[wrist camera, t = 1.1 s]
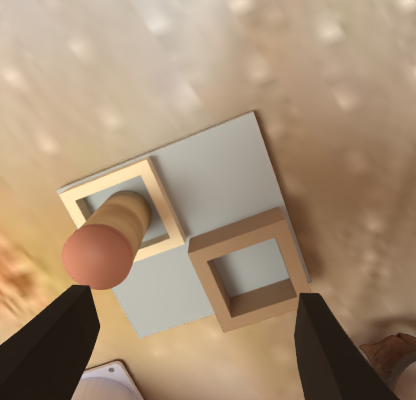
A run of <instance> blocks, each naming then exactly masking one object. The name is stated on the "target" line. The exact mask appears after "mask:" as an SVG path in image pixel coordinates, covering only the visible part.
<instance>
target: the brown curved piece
mask: <svg viewBox="0 0 416 400" xmlns="http://www.w3.org/2000/svg"><path fill="white" fill-rule="evenodd" d="M359 347H360V349H362V350H363V351H364V352H365V354H366V355H367V357H368V359H369V361H370V362H371V364H372V366H373V367H374V369H375V372H376V373H377V374H378V375H379V376H380V378H381V379H382V380H383V381H384V382H385V384H386V385H387V386H388V387H389V388H390V389H391V391H392V392H394V388H395V384H396V382H397V379H398V378H399V376H400V375H401V373H402V372H403V371H404V369H405V368H406V367H407V366H409V365H410V364H412V363H413V362H415V361H416V337H414V336H411V335H408V334H403V333H398V334H397V335H396V336H395V335H391V336H389V337H387V338H385V339H384V340H382V341H381V342H379V343H377V344H372V345H371V344H365V345H360V346H359Z"/></svg>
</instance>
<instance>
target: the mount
mask: <svg viewBox="0 0 416 400" xmlns="http://www.w3.org/2000/svg"><path fill="white" fill-rule="evenodd" d="M124 190H128V191H133V192H136V193H138V194H140V195H141V196H143V197H144V198H145V199H146V200H147V202H148V203H149V205H150V207H151V210H152V220H151V223H150V225H149V227H148V230H147V232H146V234H145V236H144V239H143V241H142V243H141V245H140V247H139V250H138V252H137V254H136V256H135V259H134V261H133V265H132V268H131V270H130V272H129V274H128V276H127V277H126V279H125V280H124V281H123V282H122V283H120V284H119V285H117V286H115V287H113V288H111V289H112V291H113V293H114V294H115V296H116V298H117V300H118V302H119V303H120V305H121V307H122V309H123V310H124V312H125V314H126V316H127V318H128V319H129V321H130V323H131V325H132V327H133V328H134V330H135V332H136V334H137V335H138V337H139V339H140V338H143V337H146V336H149V335H152V334H155V333H158V332H161V331H164V330H167V329H170V328H173V327H176V326H179V325H182V324H185V323H189V322H192V321H195V320H198V319H201V318H204V317H207V316H210V315H213V314H215V315H216V317H217V319H218V321H219V323H220V326H221V328H222V330H223V332H227V331H230V330H234V329H237V328H240V327H243V326H246V325H249V324H252V323H256V322H259V321H262V320H265V319H268V318H271V317H274V316H278V315H281V314H284V313H287V312H290V311H293V310H296V309H298V302H299V294H300V293H311V291H310V288H309V285H308V283H311V279H310V277H309V274H308V271H307V268H306V265H305V262H304V259H303V256H302V253H301V250H300V247H299V244H298V241H297V238H296V235H295V232H294V229H293V226H292V224H291V221H290V218H289V215H288V212H287V209H286V206H285V203H284V200H283V197H282V194H281V191H280V188H279V185H278V182H277V179H276V176H275V173H274V170H273V168H272V165H271V162H270V159H269V156H268V153H267V150H266V147H265V144H264V141H263V138H262V135H261V132H260V129H259V126H258V123H257V120H256V117H255V115H254V112H253V111H250V112H247V113H245V114H242V115H240V116H237V117H235V118H232V119H230V120H227V121H225V122H222V123H220V124H217V125H215V126H212V127H210V128H207V129H205V130H202V131H200V132H197V133H195V134H192V135H190V136H187V137H185V138H182V139H180V140H177V141H175V142H172V143H170V144H167V145H165V146H162V147H160V148H157V149H155V150H152V151H150V152H147V153H145V154H142V155H140V156H137V157H135V158H132V159H130V160H127V161H125V162H122V163H120V164H117V165H115V166H112V167H110V168H107V169H105V170H102V171H100V172H97V173H95V174H92V175H90V176H87V177H85V178H82V179H80V180H77V181H75V182H72V183H70V184H67V185H65V186H62V187H61V188H59V189H58V190H56V191H57V192H58V194H59V196H60V198H61V200H62V201H63V203H64V205H65V207H66V209H67V210H68V212H69V214H70V216H71V218H72V219H73V221H74V223H75V225H76V226H77V228H78V229H79V228H80V227H81V226H82V225H83V224H84V223H85V222H86V221H87V220H88V219H89V218H90V217H91V216H92V214H93V213H94V212H95V211H96V210H97V209H98V208H99V207H100V206H101V205H102V204H103V203H104V202H105V201H106V200H107V199H108V198H109V197H110V196H111V195H112V194H114V193H116V192H118V191H124Z"/></svg>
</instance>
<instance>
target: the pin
mask: <svg viewBox="0 0 416 400" xmlns="http://www.w3.org/2000/svg"><path fill="white" fill-rule="evenodd" d="M151 220H152V210H151V207H150V205H149V203H148V202H147V200H146V199H145V198H144V197H143V196H141V195H140V194H138V193H136V192H133V191H128V190H124V191H118V192H116V193H114V194H112V195H111V196H110V197H109V198H108V199H107V200H106V201H105V202H104V203H103V204H102V205H101V206H100V207H99V208H98V209H97V210H96V211H95V212H94V213H93V214H92V216H91V217H90V218H89V219H88V220H87V221H86V222H85V223H84V224H83V225H82V226H81V227H80V228H79V229H78V230H76V231H75V232H74V233H73V234H72V235H71V236H70V237H69V238H68V240H67V241H66V243H65V245H64V247H63V251H62V261H63V265H64V267H65V269H66V271H67V273H68V274H69V275H70V276H71V278H72V279H74V280H75V281H76V282H77V283H79V284H81V285H90V289H96V290H105V289H110V288H113V287H115V286H117V285H119V284H120V283H122V282H123V281H124V280H125V279H126V277H127V276H128V274H129V272H130V270H131V268H132V265H133V261H134V259H135V256H136V254H137V252H138V250H139V247H140V245H141V243H142V241H143V239H144V236H145V234H146V232H147V230H148V227H149V225H150V223H151Z"/></svg>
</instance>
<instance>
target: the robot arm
mask: <svg viewBox="0 0 416 400" xmlns="http://www.w3.org/2000/svg"><path fill="white" fill-rule="evenodd" d="M99 330H100V323H99V319H98V316H97V312H96V308H95V304H94V301H93V297H92V293H91V289H90V285H72V286H71V287H70V288H68V289H67V290H66V291H65V292H64V293H62V294H61V295H60V296H59V297H58V298H57V299H55V300H54V301H53V302H52V303H51V304H50V305H48V306H47V307H46V308H45V309H44V310H43V311H42V312H40V313H39V314H38V315H37V316H36V317H34V318H33V319H32V320H31V321H30V322H29V323H27V324H26V325H25V326H24V327H23V328H21V329H20V330H19V331H18V332H17V333H15V334H14V335H13V336H11V337H10V338H9V339H8V340H6V341H5V342H4V343H2V344H1V345H0V400H144V399H143V397H142V396H141V394H140V392H139V391H138V389H137V387H136V386H135V384H134V382H133V380H132V379H131V377H130V375H129V374H128V372H127V370H126V369H125V367H124V365H123V364H122V363H121V362H120V361H114V362H111V363H108V364H105V365H102V366H99V367H96V368H93V369H89V370H86V371H84V370H85V368H86V366H87V364H88V362H89V359H90V357H91V355H92V352H93V349H94V346H95V343H96V340H97V336H98V333H99ZM294 338H295V347H296V356H297V364H298V370H299V374H300V379H301V383H302V388H303V392H304V397H305V400H400V399H399V398H398V397H397V396H396V395H395V394H394V393H393V392H392V391H391V389H390V388H389V387H388V386H387V385H386V384H385V382H384V381H383V380H382V379H381V378H380V376H379V375H378V374H377V373H376V372H375V370H374V369H373V368H372V367H371V366H370V364H369V363H368V362H367V360H366V359H365V358H364V357H363V355H362V354H361V353H360V351H359V350H358V349H357V347H356V346H355V345H354V343H353V342H352V341H351V339H350V338H349V337H348V335H347V334H346V332H345V331H344V330H343V328H342V327H341V325H340V324H339V322H338V321H337V319H336V318H335V316H334V315H333V313H332V312H331V310H330V309H329V307H328V306H327V304H326V303H325V301H324V299H323V298H322V296H321V295H320V294H319V293H300V294H299V302H298V310H297V318H296V326H295V333H294ZM111 368H113V369H111Z"/></svg>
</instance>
